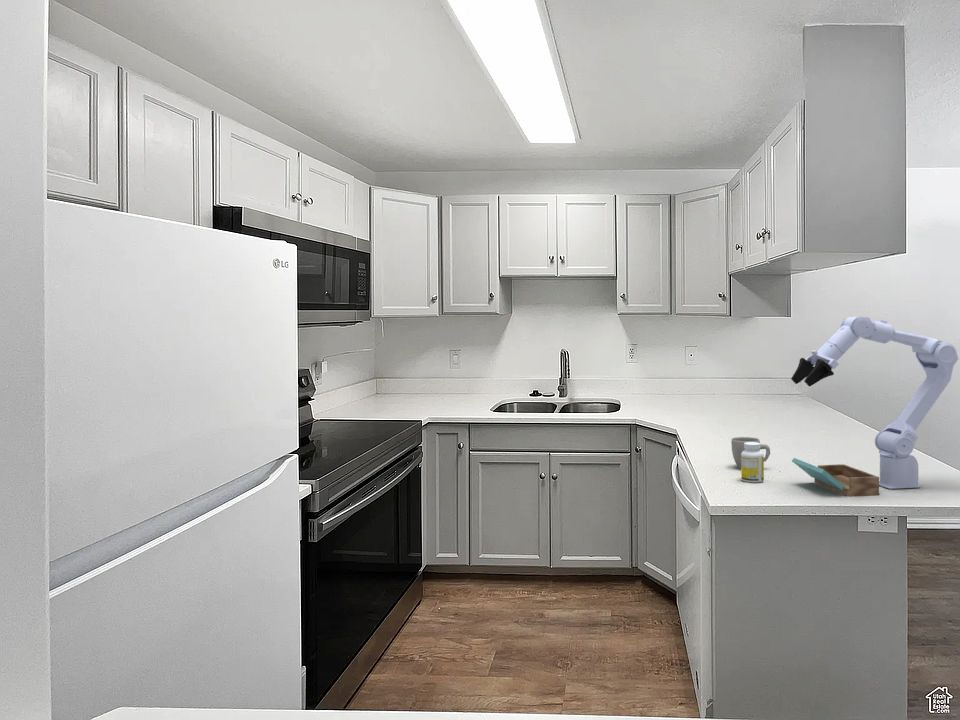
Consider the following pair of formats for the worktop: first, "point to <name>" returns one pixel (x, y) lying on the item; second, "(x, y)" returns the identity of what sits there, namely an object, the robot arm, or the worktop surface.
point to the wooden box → (851, 480)
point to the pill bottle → (752, 463)
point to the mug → (739, 448)
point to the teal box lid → (818, 474)
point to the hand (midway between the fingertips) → (800, 382)
